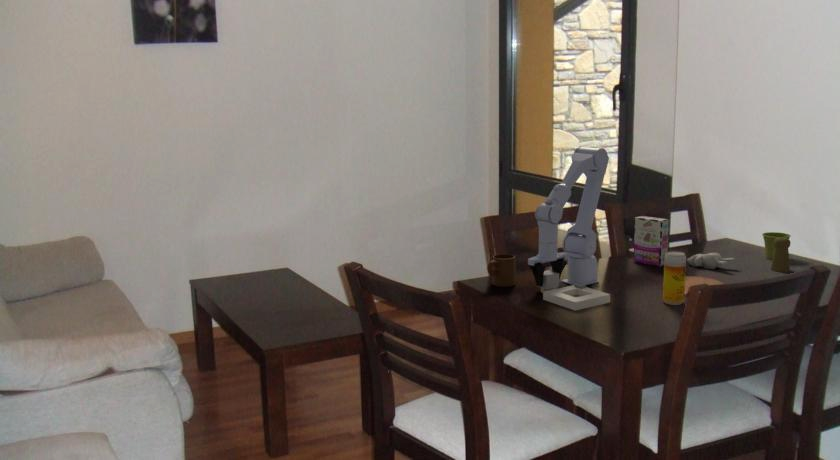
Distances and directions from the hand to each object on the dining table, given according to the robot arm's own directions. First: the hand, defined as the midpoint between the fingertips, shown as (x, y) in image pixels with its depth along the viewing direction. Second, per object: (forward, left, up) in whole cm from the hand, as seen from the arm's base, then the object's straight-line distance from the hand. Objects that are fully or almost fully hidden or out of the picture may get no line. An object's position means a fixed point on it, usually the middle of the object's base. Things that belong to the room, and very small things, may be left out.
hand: (547, 284), depth 259 cm
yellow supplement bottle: (-22, +31, -2) cm, 38 cm away
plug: (0, 0, -2) cm, 2 cm away
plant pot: (-94, +15, -2) cm, 95 cm away
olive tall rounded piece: (-81, +26, -2) cm, 85 cm away
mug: (+8, -14, -2) cm, 16 cm away
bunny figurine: (-65, +10, -3) cm, 66 cm away
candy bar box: (-53, -6, -2) cm, 53 cm away
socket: (0, +13, -2) cm, 13 cm away
